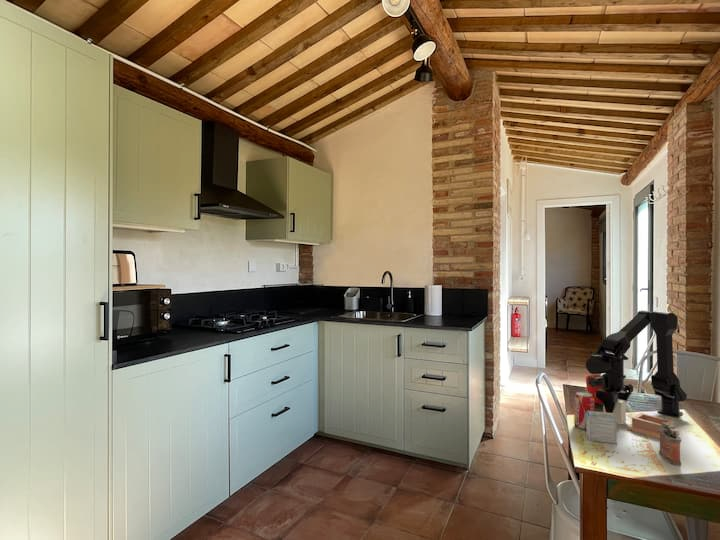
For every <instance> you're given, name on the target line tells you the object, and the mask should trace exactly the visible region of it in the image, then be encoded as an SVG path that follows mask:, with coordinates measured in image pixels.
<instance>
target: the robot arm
mask: <svg viewBox="0 0 720 540" xmlns="http://www.w3.org/2000/svg"><path fill="white" fill-rule="evenodd" d="M678 320H679V319H678V315H676V314H675V313H674V312H669V311H658V310H655V311H651V310H644V309H643V310H638V311H637V313H636V315H635V316H634V317H633V318H632V319H631V320H630V321H628V322H627V323H626V324H625V325H624V326H623V327H622V328H620V330H618V331H617V332H613V333H610V334H609V335H608V336H606V337H605V338H603V339H602V341H601V344H600V346H599V347H598V349H597V350H596V352H595V354H591V355H590V357H589V358H587V360H586V362H585V368H586V371H588V373H589V374H590V375H600V374H601V375H602V376H601V377H594V376H593V377H589V378H588V382H587V383H588V384H589V385H590V386H591V388H594V387H598V386H602V388H601V389H599V390H597V391H595V397H596V398H597V399H599V400H601V401H602V402H603V405H604V407H605V410H606V413H613V411H614V409H615V406H616V404H617V401H618V400H617V399H621V400H626V403H627V402H628V401H629V398H631V395H632V394H633V392H634V386H633V385H632V384H631V383H628V382H625V380H624V379H627V377H626V376H627V375H625V374H624V373H625V372H624V370H625V369H624V367H625V366H624V362H625V361H628V360H629V357H628V356H626V355H625V354H626V353H627V352H628V350H629V349H630V347H631V343H632V341H633V340H634V339H635V338H636V337H637V336H638V335H639V334H640V333H641V332H642V331H643V330H644V329H646V327H648V326H649V325H650V329H652V331H653V332H654V334H655V339H656V340H655V341H656V342H655V343H656V364H657V365H656V366H657V368H656V369H657V370H656V372H655V373H654V374H652V375H651V376H650V379H651V384H650V385H651V386H652V389H653V392H654V395H656V396H659V397H660V409H659V410H657V413H658V412H659V414H662V415H667V416H671V417H674V418H680V416H682V415H683V414H684V412H682V411H681V410H680V409H681V408H680V405H681V404H680V402H681V403H683V402H685V401H686V400H687V398H688V394H687V393H686V392H685V391H684V389H682V387H681V383H680V378H678V376H677V375H676V373H675V370H674V348H673V347H674V346H673V335H674V333H676V330H677V329H678V324H679V323H678ZM603 388H607V389H603ZM603 405H602V406H603Z"/></svg>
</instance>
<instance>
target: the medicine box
mask: <svg viewBox="0 0 720 540" xmlns="http://www.w3.org/2000/svg"><path fill="white" fill-rule="evenodd" d="M616 420H617V419H616V417H615V416H614V415H613V413H606V412H603V411H595V410H594V411H587V430H586V436H587V438H588V440H589V441H590V442H591V441H592V442H601V443H609V444H617V443H618V441H617V423H616Z"/></svg>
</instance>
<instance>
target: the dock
mask: <svg viewBox="0 0 720 540" xmlns="http://www.w3.org/2000/svg"><path fill="white" fill-rule="evenodd" d="M663 422H665V423H667V424H668V425H669V426H673V427H674V429H675V430H677V434H676V435H677V436H678V435H679V434H680V430H679V429H677V428H675V420H671V419H667V418H663V417H661V416H660V417H658V416H657V415H656V416H655V415H651V414H647V413H643V412H639V413H637V414H636V415H635V416H632V417H631V423H630V424H628V425H627V430H628V429H629V430H628V431H631V430H632V432H634V433H635V432H636V433H639V434H641V435H646V436H648V437H652V438H657V439H659V440H660V433H659V429H665V428H664V427H662V423H663Z"/></svg>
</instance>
